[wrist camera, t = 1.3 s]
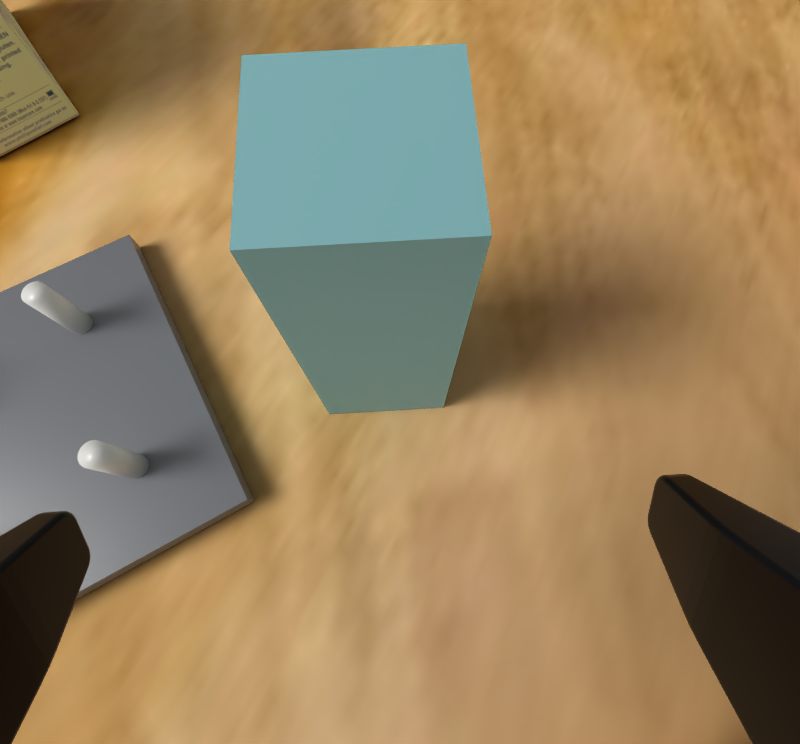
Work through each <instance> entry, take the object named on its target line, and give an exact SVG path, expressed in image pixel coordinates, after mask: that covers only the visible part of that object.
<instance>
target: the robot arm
mask: <svg viewBox="0 0 800 744" xmlns="http://www.w3.org/2000/svg"><path fill="white" fill-rule="evenodd" d="M648 526H649V530H650V533H651V535H652V538H653V540H654V543H655V545H656V547H657V550H658V552H659V555H660V557H661V559H662V562H663V564H664V567H665V569H666V571H667V574H668V576H669V579H670V581H671V583H672V586H673V588H674V591H675V593H676V595H677V598H678V600H679V603H680V605H681V607H682V610H683V612H684V614H685V617H686V619H687V621H688V623H689V625H690V628H691V629H692V631H693V633H694V635H695V637H696V639H697V641H698V643H699V645H700V647H701V649H702V651H703V652H704V654H705V656H706V658H707V660H708V662H709V664H710V665H711V667H712V669H713V671H714V673H715V675H716V677H717V678H718V680H719V682H720V684H721V686H722V688H723V690H724V691H725V693H726V695H727V697H728V699H729V701H730V703H731V704H732V706H733V708H734V710H735V712H736V714H737V716H738V717H739V719H740V721H741V723H742V725H743V727H744V729H745V730H746V732H747V734H748V736H749V738H750V740H751V741H752V743H753V744H800V533H799V532H797V531H795V530H793V529H791V528H790V527H788V526H786V525H784V524H782V523H780V522H778V521H776V520H774V519H772V518H770V517H769V516H767V515H765V514H763V513H761V512H759V511H757V510H755V509H753V508H751V507H749V506H748V505H746V504H744V503H742V502H740V501H738V500H736V499H734V498H732V497H730V496H728V495H727V494H725V493H723V492H721V491H719V490H717V489H715V488H713V487H711V486H709V485H707V484H705V483H704V482H702V481H700V480H698V479H696V478H694V477H692V476H690V475H687V474H676V475H663V476H661V477H659V478H658V479H657V481H656V483H655V487H654V491H653V496H652V500H651V505H650V509H649V514H648ZM89 564H90V549H89V547H88V544H87V542H86V540H85V538H84V535H83V533H82V531H81V529H80V526H79V524H78V522H77V520H76V518H75V516H74V515H73V514H72V513H70V512H67V511H56V512H44V513H40V514H37V515H35V516H33V517H32V518H30V519H28V520H27V521H25V522H23V523H21V524H20V525H18V526H16V527H15V528H13V529H11V530H9V531H8V532H6V533H4V534H3V535H1V536H0V744H12V742H13V740H14V738H15V736H16V734H17V732H18V730H19V728H20V726H21V724H22V722H23V720H24V718H25V716H26V714H27V712H28V710H29V708H30V706H31V704H32V702H33V700H34V698H35V696H36V694H37V692H38V690H39V688H40V686H41V684H42V681H43V679H44V677H45V675H46V673H47V671H48V669H49V667H50V664H51V662H52V659H53V657H54V655H55V652H56V650H57V648H58V645H59V642H60V640H61V637H62V635H63V632H64V629H65V627H66V624H67V622H68V619H69V617H70V614H71V611H72V609H73V606H74V604H75V601H76V598H77V596H78V593H79V591H80V588H81V586H82V583H83V580H84V578H85V575H86V573H87V570H88V567H89Z"/></svg>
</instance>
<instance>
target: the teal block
mask: <svg viewBox="0 0 800 744" xmlns="http://www.w3.org/2000/svg"><path fill="white" fill-rule="evenodd" d="M491 237H492V234H491V226H490V219H489V211H488V204H487V196H486V189H485V182H484V174H483V167H482V159H481V152H480V144H479V137H478V130H477V122H476V115H475V107H474V100H473V92H472V85H471V78H470V70H469V63H468V55H467V48H466V43H464V44H445V45H426V46H407V47H388V48H369V49H350V50H331V51H312V52H293V53H274V54H256V55H242V58H241V74H240V91H239V107H238V123H237V140H236V156H235V173H234V189H233V205H232V222H231V238H230V251H231V253H232V255H233V256H234V258H235V260H236V261H237V263H238V265H239V266H240V268H241V270H242V271H243V273H244V274H245V276H246V278H247V279H248V281H249V283H250V284H251V286H252V288H253V289H254V291H255V293H256V294H257V296H258V297H259V299H260V301H261V302H262V304H263V306H264V307H265V309H266V311H267V312H268V314H269V316H270V317H271V319H272V320H273V322H274V324H275V325H276V327H277V329H278V330H279V332H280V334H281V335H282V337H283V338H284V340H285V342H286V343H287V345H288V347H289V348H290V350H291V352H292V353H293V355H294V357H295V358H296V360H297V361H298V363H299V365H300V366H301V368H302V370H303V371H304V373H305V375H306V376H307V378H308V380H309V381H310V383H311V384H312V386H313V388H314V389H315V391H316V393H317V394H318V396H319V398H320V399H321V401H322V403H323V404H324V406H325V407H326V409H327V411H328V412H329V414H338V413H356V412H373V411H390V410H408V409H425V408H442V407H444V404H445V400H446V397H447V393H448V389H449V386H450V382H451V379H452V375H453V372H454V368H455V365H456V361H457V357H458V354H459V350H460V347H461V343H462V340H463V336H464V333H465V329H466V326H467V322H468V318H469V315H470V311H471V308H472V304H473V301H474V297H475V294H476V290H477V286H478V283H479V279H480V276H481V272H482V269H483V265H484V262H485V258H486V254H487V251H488V247H489V244H490V240H491Z"/></svg>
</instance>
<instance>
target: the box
mask: <svg viewBox="0 0 800 744" xmlns="http://www.w3.org/2000/svg"><path fill="white" fill-rule="evenodd" d="M78 115H79V113H78V111H77V110H76V108H75V107H74V106H73V104H72V103H71V101H70V100H69V99H68V97H67V96H66V94H65V93H64V91H63V90H62V88H61V87H60V86H59V84H58V83H57V81H56V80H55V78H54V77H53V75H52V74H51V72H50V71H49V70H48V68H47V67H46V65H45V64H44V62H43V61H42V59H41V58H40V56H39V55H38V53H37V52H36V50H35V49H34V47H33V46H32V44H31V43H30V41H29V40H28V38H27V37H26V35H25V34H24V32H23V30H22V29H21V27H20V26H19V24H18V23H17V21H16V20H15V18H14V17H13V15H12V14H11V12H10V11H9V9H8V8H7V7H6V5H5V4H4V3H3V1H2V0H0V157H1V156H3V155H5V154H7V153H9V152H11V151H12V150H14V149H16V148H18V147H20V146H22V145H24V144H26V143H28V142H30V141H32V140H34V139H36V138H38V137H40V136H41V135H43V134H45V133H47V132H49V131H51V130H53V129H55V128H56V127H58V126H60V125H62V124H64V123H66V122H67V121H69V120H71V119H73V118H75V117H77V116H78Z"/></svg>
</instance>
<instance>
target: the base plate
mask: <svg viewBox="0 0 800 744" xmlns="http://www.w3.org/2000/svg"><path fill="white" fill-rule="evenodd" d="M252 502H254V499H253V497H252V495H251V492H250V490H249V488H248V486H247V483H246V481H245V479H244V477H243V475H242V472H241V470H240V468H239V466H238V463H237V461H236V459H235V457H234V455H233V452H232V450H231V448H230V446H229V444H228V441H227V439H226V437H225V435H224V432H223V430H222V428H221V426H220V424H219V421H218V419H217V417H216V415H215V412H214V410H213V408H212V406H211V404H210V401H209V399H208V397H207V395H206V393H205V390H204V388H203V386H202V384H201V381H200V379H199V377H198V375H197V373H196V370H195V368H194V366H193V364H192V362H191V359H190V357H189V355H188V353H187V350H186V348H185V346H184V344H183V342H182V339H181V337H180V335H179V333H178V330H177V328H176V326H175V324H174V322H173V319H172V317H171V315H170V313H169V311H168V308H167V306H166V304H165V302H164V299H163V297H162V295H161V293H160V291H159V288H158V286H157V284H156V282H155V279H154V277H153V275H152V273H151V271H150V268H149V266H148V264H147V262H146V260H145V257H144V255H143V253H142V251H141V248H140V246H139V245H138V244H137V243H136V242H135V241H134V240H133V239H132V238H131V236H130V235H127V236H125V237H123V238H121V239H118V240H116V241H114V242H112V243H109V244H107V245H105V246H103V247H101V248H98V249H96V250H94V251H92V252H89V253H87V254H85V255H83V256H80V257H78V258H76V259H74V260H72V261H69V262H67V263H65V264H63V265H60V266H58V267H56V268H54V269H51V270H49V271H47V272H45V273H42V274H40V275H38V276H36V277H34V278H31V279H29V280H27V281H25V282H22V283H20V284H18V285H16V286H13V287H11V288H9V289H7V290H4V291H2V292H0V536H1V535H3V534H4V533H6V532H8V531H9V530H11V529H13V528H15V527H16V526H18V525H20V524H21V523H23V522H25V521H27V520H28V519H30V518H32V517H33V516H35V515H37V514H40V513H44V512H56V511H67V512H70V513H72V514H73V515H74V516H75V518H76V520H77V522H78V524H79V526H80V529H81V531H82V533H83V535H84V538H85V540H86V542H87V544H88V547H89V549H90V564H89V567H88V570H87V573H86V575H85V578H84V580H83V583H82V586H81V588H80V591H79V593H78V596H77V598H76V599H78V598H80V597H82V596H83V595H85V594H87V593H89V592H91V591H93V590H94V589H96V588H98V587H100V586H102V585H103V584H105V583H107V582H109V581H111V580H112V579H114V578H116V577H118V576H120V575H122V574H123V573H125V572H127V571H129V570H131V569H132V568H134V567H136V566H138V565H140V564H142V563H143V562H145V561H147V560H149V559H151V558H152V557H154V556H156V555H158V554H160V553H162V552H163V551H165V550H167V549H169V548H171V547H172V546H174V545H176V544H178V543H180V542H181V541H183V540H185V539H187V538H189V537H191V536H192V535H194V534H196V533H198V532H200V531H201V530H203V529H205V528H207V527H209V526H211V525H212V524H214V523H216V522H218V521H220V520H221V519H223V518H225V517H227V516H229V515H230V514H232V513H234V512H236V511H238V510H240V509H241V508H243V507H245V506H247V505H249V504H250V503H252Z"/></svg>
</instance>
